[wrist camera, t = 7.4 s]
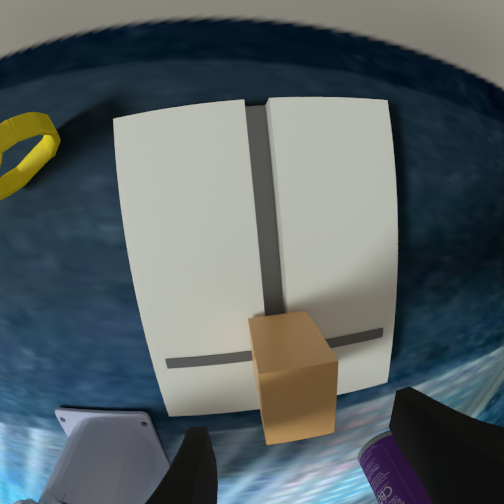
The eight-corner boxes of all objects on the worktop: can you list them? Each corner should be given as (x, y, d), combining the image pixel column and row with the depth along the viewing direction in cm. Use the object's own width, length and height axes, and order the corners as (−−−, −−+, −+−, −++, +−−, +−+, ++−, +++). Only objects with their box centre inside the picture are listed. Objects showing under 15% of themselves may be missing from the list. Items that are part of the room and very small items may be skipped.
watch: (60, 114, 15) (10, 87, 9) (79, 148, 15) (30, 130, 10) (-3, 178, 15) (-62, 176, 9) (14, 211, 15) (-45, 220, 10)
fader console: (375, 367, 20) (387, 383, 18) (172, 397, 19) (168, 417, 17) (371, 107, 16) (388, 99, 14) (124, 125, 15) (112, 118, 13)
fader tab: (301, 359, 18) (333, 432, 12) (252, 367, 18) (266, 445, 12) (298, 299, 17) (338, 360, 11) (245, 306, 17) (258, 374, 11)
